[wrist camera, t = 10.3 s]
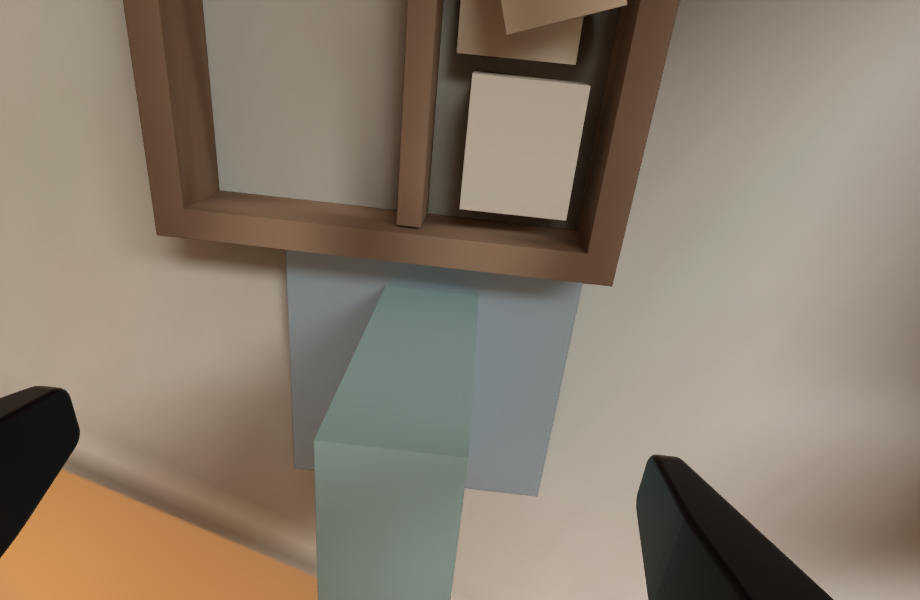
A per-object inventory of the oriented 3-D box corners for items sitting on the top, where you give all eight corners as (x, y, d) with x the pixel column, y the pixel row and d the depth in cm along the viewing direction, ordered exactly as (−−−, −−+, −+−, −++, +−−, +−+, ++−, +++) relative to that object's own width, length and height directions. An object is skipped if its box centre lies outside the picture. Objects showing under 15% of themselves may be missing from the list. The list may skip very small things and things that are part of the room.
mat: (583, 265, 20) (585, 269, 20) (536, 489, 25) (537, 496, 24) (289, 232, 20) (285, 235, 20) (297, 461, 25) (294, 467, 24)
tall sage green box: (478, 294, 20) (468, 457, 12) (459, 460, 24) (440, 675, 16) (386, 284, 20) (313, 440, 12) (379, 451, 24) (319, 661, 16)
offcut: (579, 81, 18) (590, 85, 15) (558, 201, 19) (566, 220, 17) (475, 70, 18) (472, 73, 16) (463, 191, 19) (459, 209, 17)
